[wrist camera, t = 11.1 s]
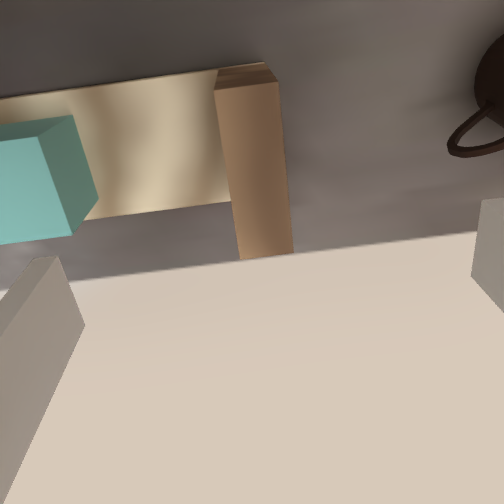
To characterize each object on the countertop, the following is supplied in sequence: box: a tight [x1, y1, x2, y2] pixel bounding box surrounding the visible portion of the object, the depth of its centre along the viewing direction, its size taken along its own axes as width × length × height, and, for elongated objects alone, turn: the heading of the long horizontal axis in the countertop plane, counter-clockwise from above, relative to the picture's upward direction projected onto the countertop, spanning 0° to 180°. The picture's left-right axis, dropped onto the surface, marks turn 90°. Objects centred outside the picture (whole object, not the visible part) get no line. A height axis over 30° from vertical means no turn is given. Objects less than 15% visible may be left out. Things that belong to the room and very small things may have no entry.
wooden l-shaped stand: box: [0, 62, 294, 260], centre depth 27 cm, size 24×9×10 cm, turn 97°
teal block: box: [0, 115, 99, 245], centre depth 28 cm, size 6×6×6 cm
